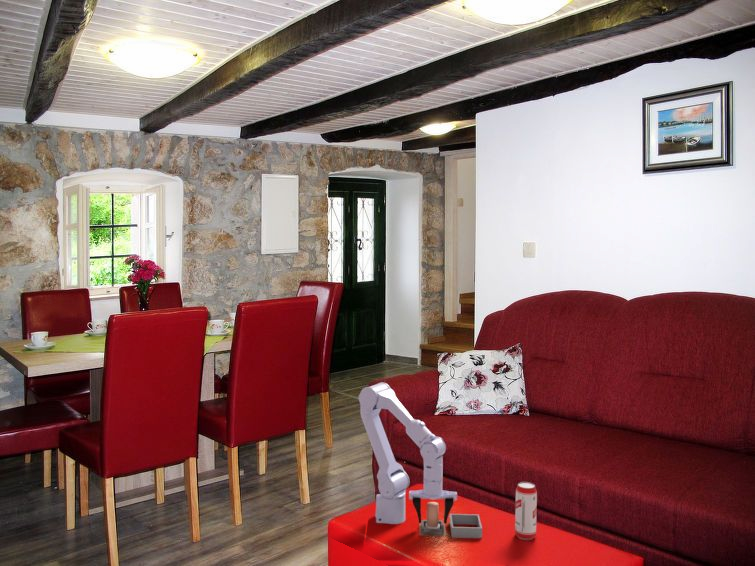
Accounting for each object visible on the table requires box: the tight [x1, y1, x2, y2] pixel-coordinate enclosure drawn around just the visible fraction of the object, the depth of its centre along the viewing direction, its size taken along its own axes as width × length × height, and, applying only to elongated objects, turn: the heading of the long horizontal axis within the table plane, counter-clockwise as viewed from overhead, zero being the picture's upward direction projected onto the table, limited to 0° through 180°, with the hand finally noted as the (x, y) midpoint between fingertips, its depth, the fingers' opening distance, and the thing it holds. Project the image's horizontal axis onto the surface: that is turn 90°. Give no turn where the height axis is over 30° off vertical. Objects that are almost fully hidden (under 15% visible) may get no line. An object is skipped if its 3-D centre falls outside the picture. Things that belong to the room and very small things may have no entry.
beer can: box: [514, 481, 538, 541], centre depth 202 cm, size 6×6×16 cm
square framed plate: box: [418, 519, 447, 537], centre depth 204 cm, size 8×8×2 cm
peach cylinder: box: [425, 501, 440, 529], centre depth 204 cm, size 4×4×8 cm
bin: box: [449, 513, 483, 539], centre depth 204 cm, size 9×10×4 cm
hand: (432, 521), depth 204 cm, fingers open, 7 cm apart
